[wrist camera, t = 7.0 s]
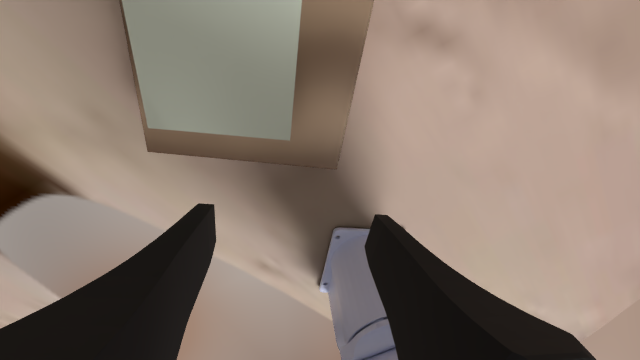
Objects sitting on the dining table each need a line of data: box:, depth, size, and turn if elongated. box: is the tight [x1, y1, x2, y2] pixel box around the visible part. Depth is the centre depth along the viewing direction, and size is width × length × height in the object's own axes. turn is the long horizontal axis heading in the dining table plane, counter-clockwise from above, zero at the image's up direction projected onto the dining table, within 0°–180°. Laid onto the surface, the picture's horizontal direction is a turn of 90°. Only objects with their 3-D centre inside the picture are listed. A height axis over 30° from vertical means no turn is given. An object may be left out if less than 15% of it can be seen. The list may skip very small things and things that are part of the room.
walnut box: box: [119, 0, 374, 169], centre depth 15 cm, size 12×12×4 cm
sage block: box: [122, 0, 302, 141], centre depth 11 cm, size 5×5×6 cm
